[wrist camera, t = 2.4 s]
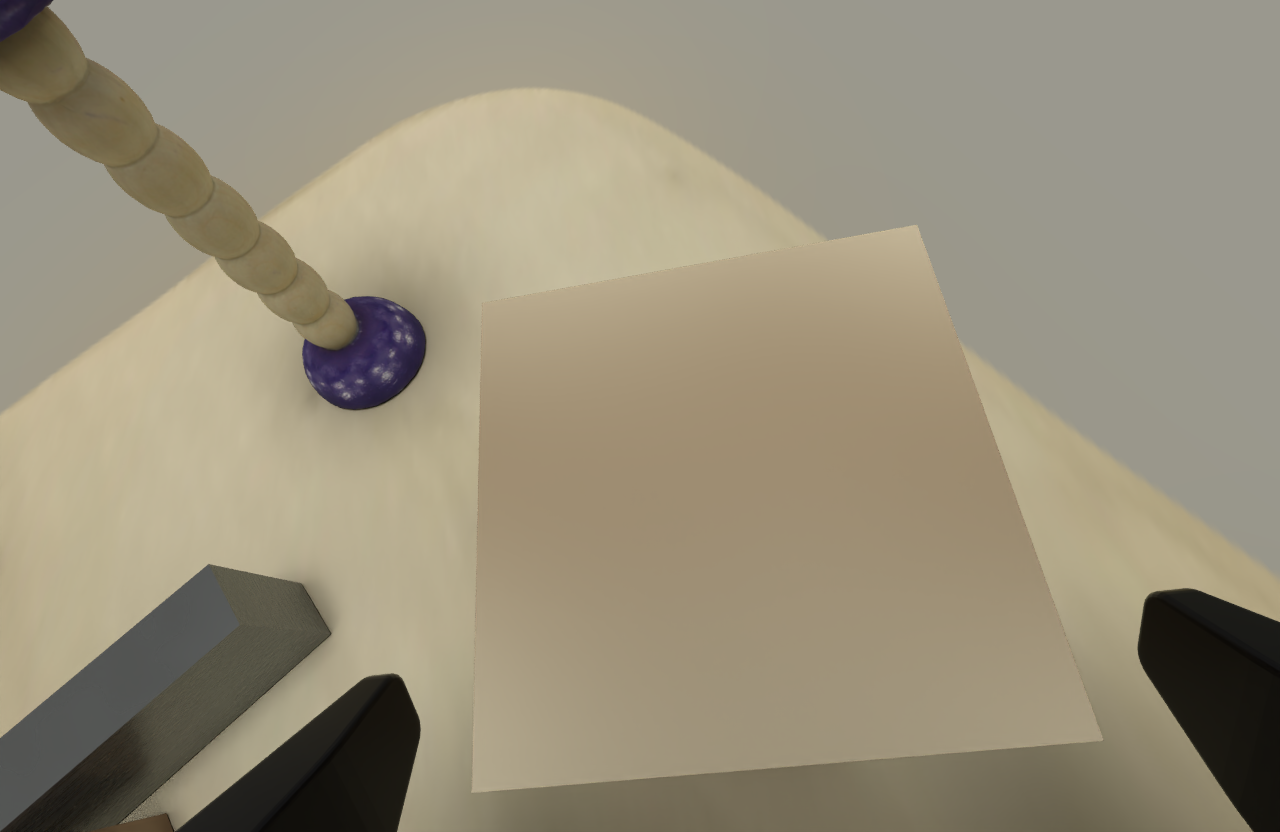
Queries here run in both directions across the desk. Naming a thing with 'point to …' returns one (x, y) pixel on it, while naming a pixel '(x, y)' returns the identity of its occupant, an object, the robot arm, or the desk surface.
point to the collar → (142, 825)
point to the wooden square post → (750, 529)
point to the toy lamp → (204, 209)
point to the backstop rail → (153, 700)
